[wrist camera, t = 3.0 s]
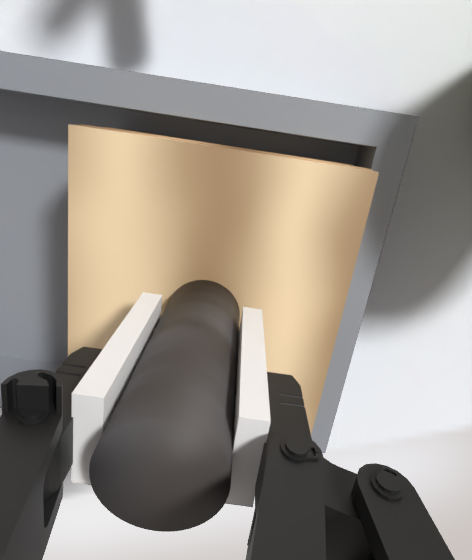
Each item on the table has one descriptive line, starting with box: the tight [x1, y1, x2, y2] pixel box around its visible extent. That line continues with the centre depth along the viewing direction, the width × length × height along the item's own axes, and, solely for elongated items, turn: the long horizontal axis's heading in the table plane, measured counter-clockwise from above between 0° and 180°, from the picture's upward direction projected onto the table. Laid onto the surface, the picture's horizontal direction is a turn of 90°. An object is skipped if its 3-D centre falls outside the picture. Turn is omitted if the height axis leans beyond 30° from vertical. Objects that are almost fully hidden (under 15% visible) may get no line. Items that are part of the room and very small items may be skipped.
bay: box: [0, 51, 419, 453], centre depth 22 cm, size 24×19×4 cm
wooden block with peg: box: [68, 124, 379, 531], centre depth 16 cm, size 12×14×15 cm
